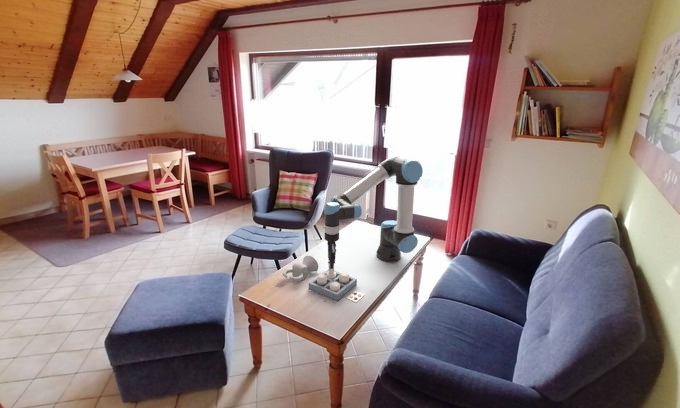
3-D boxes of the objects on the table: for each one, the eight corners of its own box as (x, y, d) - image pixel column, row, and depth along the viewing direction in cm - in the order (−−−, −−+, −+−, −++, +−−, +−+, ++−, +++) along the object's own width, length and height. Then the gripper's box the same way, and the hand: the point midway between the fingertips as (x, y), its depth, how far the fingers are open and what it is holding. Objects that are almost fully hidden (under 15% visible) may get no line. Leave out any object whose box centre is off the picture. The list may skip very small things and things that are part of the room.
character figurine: (303, 265, 200) (279, 280, 184) (303, 251, 197) (279, 266, 181) (321, 272, 193) (297, 288, 178) (321, 258, 190) (297, 273, 175)
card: (354, 291, 176) (354, 290, 175) (364, 295, 172) (364, 294, 172) (346, 298, 169) (346, 297, 169) (356, 302, 166) (356, 301, 166)
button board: (329, 275, 190) (329, 268, 189) (356, 285, 181) (356, 279, 179) (308, 289, 176) (308, 282, 175) (337, 301, 166) (337, 294, 165)
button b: (320, 279, 180) (320, 272, 178) (328, 282, 177) (328, 276, 176) (314, 283, 176) (314, 277, 174) (322, 287, 173) (322, 280, 172)
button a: (333, 287, 176) (333, 281, 175) (341, 291, 173) (342, 284, 172) (327, 292, 172) (327, 285, 171) (336, 295, 169) (336, 288, 168)
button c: (342, 277, 182) (342, 271, 180) (350, 281, 179) (351, 274, 178) (337, 282, 178) (337, 275, 176) (345, 285, 175) (345, 278, 174)
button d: (330, 276, 187) (330, 269, 186) (337, 279, 184) (338, 272, 183) (324, 280, 183) (324, 273, 181) (332, 283, 180) (332, 276, 179)
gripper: (322, 227, 180) (322, 267, 187) (326, 237, 168) (325, 279, 175) (336, 227, 181) (336, 266, 189) (341, 236, 169) (340, 278, 177)
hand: (331, 272), depth 182 cm, fingers closed
